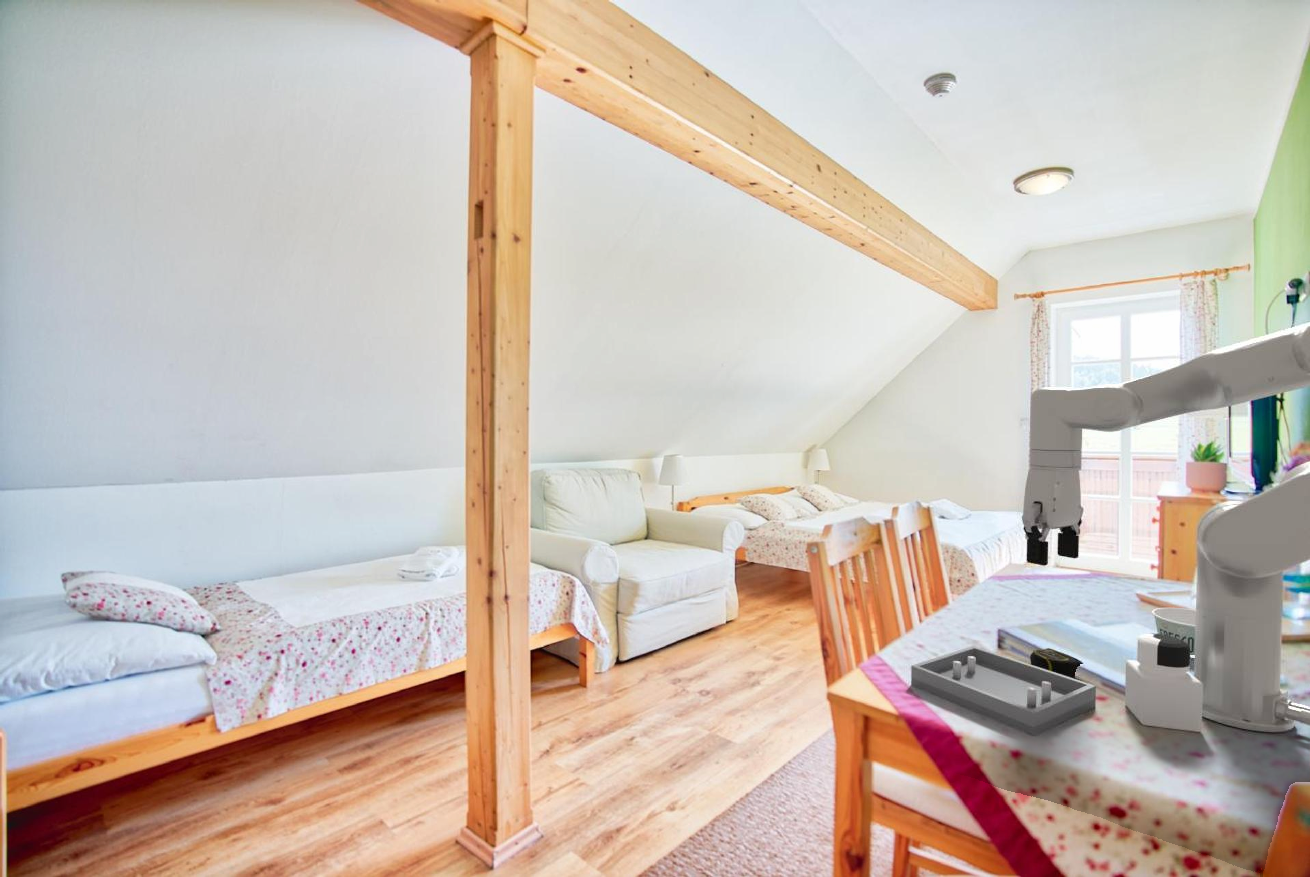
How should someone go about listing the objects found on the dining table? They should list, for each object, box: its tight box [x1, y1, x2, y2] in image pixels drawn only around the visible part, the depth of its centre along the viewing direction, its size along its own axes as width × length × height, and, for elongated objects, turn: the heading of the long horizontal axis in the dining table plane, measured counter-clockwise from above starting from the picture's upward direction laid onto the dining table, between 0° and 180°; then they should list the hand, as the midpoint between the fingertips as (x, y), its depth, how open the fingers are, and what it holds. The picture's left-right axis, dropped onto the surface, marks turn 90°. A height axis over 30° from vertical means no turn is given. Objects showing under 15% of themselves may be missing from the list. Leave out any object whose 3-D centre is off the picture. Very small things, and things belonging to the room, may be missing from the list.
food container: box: [1151, 607, 1196, 655], centre depth 121 cm, size 12×12×6 cm
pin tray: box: [910, 645, 1097, 737], centre depth 103 cm, size 20×17×4 cm
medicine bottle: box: [1124, 633, 1203, 733], centre depth 95 cm, size 7×7×12 cm
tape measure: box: [1030, 647, 1084, 679], centre depth 111 cm, size 7×7×4 cm
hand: (1052, 560), depth 110 cm, fingers open, 9 cm apart
